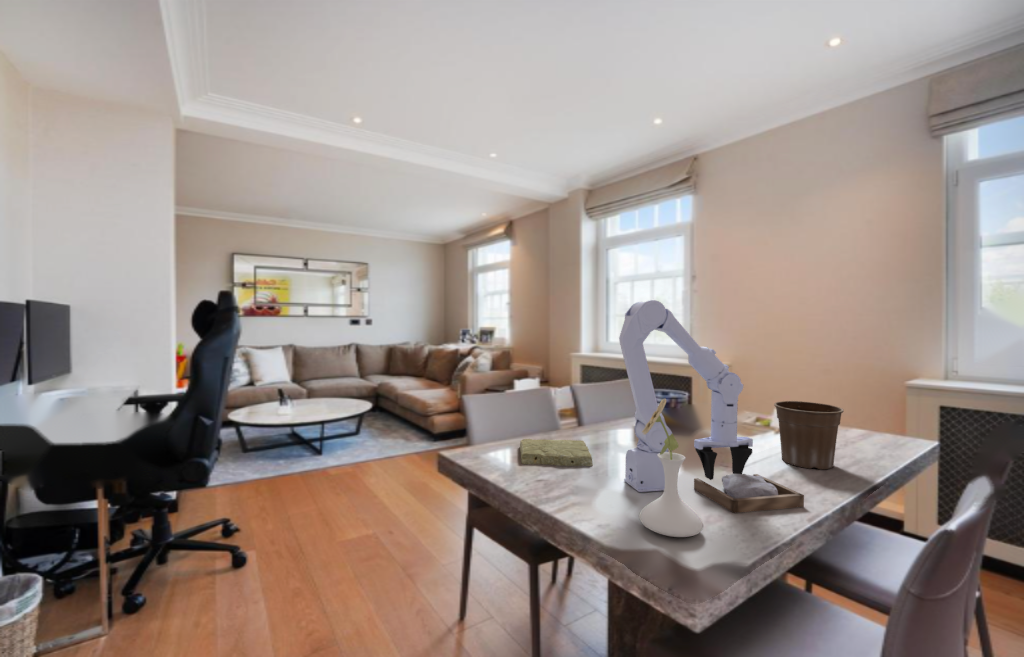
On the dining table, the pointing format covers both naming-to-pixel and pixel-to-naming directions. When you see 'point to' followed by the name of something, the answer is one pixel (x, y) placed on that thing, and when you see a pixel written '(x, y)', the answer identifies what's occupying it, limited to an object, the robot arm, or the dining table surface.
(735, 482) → the stone block
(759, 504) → the walnut corral
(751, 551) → the dining table surface
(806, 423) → the plant pot
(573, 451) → the decorative tile
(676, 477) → the flower in vase
